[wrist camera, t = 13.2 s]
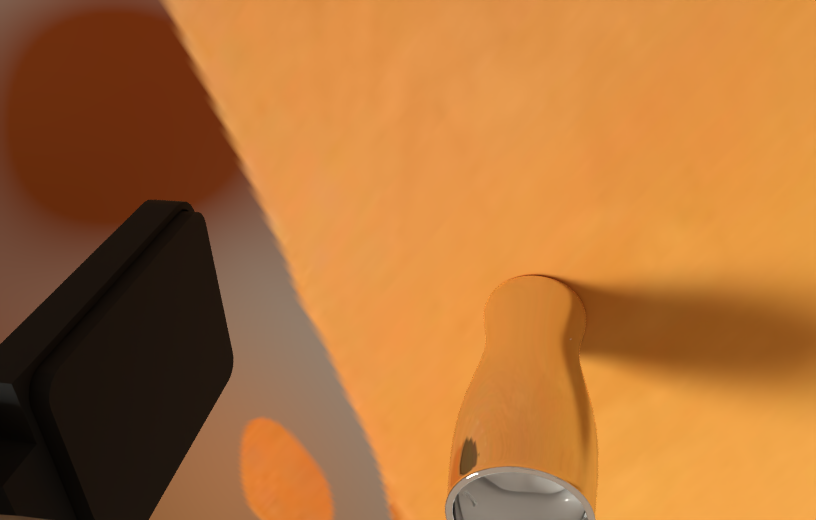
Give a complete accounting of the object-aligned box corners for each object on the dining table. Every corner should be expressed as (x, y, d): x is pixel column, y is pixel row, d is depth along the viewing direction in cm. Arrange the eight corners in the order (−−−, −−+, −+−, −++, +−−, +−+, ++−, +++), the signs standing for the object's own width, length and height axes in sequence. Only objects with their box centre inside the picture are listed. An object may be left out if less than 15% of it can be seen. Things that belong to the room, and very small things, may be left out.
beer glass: (532, 378, 48) (517, 589, 35) (453, 311, 46) (408, 508, 34) (618, 321, 44) (635, 533, 32) (536, 246, 42) (520, 439, 30)
